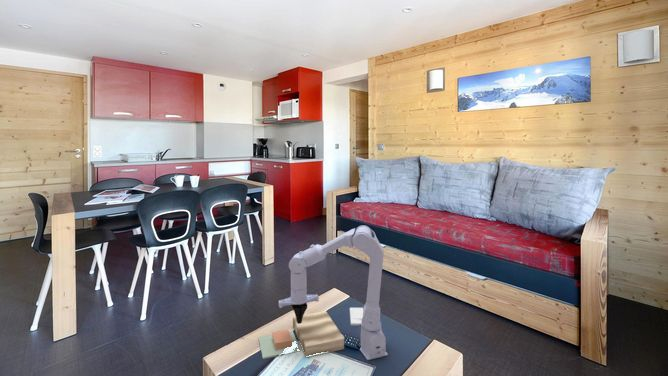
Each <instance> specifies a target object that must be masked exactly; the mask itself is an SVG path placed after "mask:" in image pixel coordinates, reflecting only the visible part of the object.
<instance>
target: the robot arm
mask: <svg viewBox="0 0 668 376" xmlns="http://www.w3.org/2000/svg"><path fill="white" fill-rule="evenodd" d="M343 247H348V248H350V249H353V247H354V248H355V249H357V250H359V251H360V252H362V253H365V254H366V255H367V256H368V258H369V267H368V278H367V288H366V289H367V291H366V301H365V303H364V305H363V307H362V308H363V318H362V322H361V325H360V342H361V348H360V349H359V350H360V352H361V353H362V355H363V356H364V357H365V360H367V361H370V360H374V359H377V358H382V357H386V356H389V355H388V354H389V353H388V351H387V350H386V349H387V348H386V347H387V346H386V345H387V343H386V342H387V339H386V336H385V334H384V332H383V330H382V322H381V306H380V298H381V297H380V296H381V295H380V294H381V286H382V275H383V273H382V272H383V264H384V248H383V247H382V245H381V243H380V241H379V239H378V238H377V236H376V233H375V231H374V230H372V229H371V228H370V227H369V226H368V225H365V224H364V225H359V226H358V227H356V228H355V227H354V228H352V229H350V230H348V231H346V232H344V233H342V234H341V235H339V236H336V237H335V238H333V239H331V240H330V241H328V242H326V243H325V244H323V245H321V244H318V243H317V244H311V245H310V246H309V248H307V249H305V250H301V251H299V252H298V253H296V254H294V255H293V257H292V258H291V259H289V262H288V269H289V270H290V297H287V298H286V297H285V298H284V299H280V300H278V307H279V308H280V309H282V308H283V307H288V306H291V307H292V309H293V312H294V315H295V316H296V320H297V323H298V324H300V323H302V318H303V315H305V313H306V311H307V309H308V303H311V302H315V303H316V302H319V300H320V298H319V295H318V294H317V293H316V294H308V293H307V291H308V289H307V288H308V287H307V284H308V283H307V280H308V279H307V277H308V275H307V268H309V267H311V266H314V264H317V263H319V262H321V261H323V260H325V259H326V255H327V254H329V253H331V252H334V251H336V250H338V249H341V248H343Z"/></svg>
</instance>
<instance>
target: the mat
mask: <svg viewBox="0 0 668 376" xmlns="http://www.w3.org/2000/svg"><path fill="white" fill-rule="evenodd" d="M289 333H290V335H291V338H292V342H294V341H296V342H297V343H298V341H297V340H298V339H297V338H296V334H295V333H294V331H293V330H289ZM258 342H259V349H260V352H261V358H262V360H267V359H271V358H272V359H273V358H275V357H276V358H277V357H278V356H277V355H279V354H281V353H283V351H284V349H285V348H283V349H279V350H275V346H274V343H273V339H272V334H269V335H264V336H259V337H258ZM297 343H296V344H297ZM298 347H299V348H297V347H296V348H295V350H294V349H293V350H294V351H297V349H299V350H300V351H301V348H300V347H301V346H298Z"/></svg>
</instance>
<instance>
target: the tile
mask: <svg viewBox="0 0 668 376" xmlns="http://www.w3.org/2000/svg"><path fill="white" fill-rule="evenodd" d="M289 331H290V330H289V329H283V330H277V331H274V332H273V331H272V333H271V335H272V339H273V343H274V346H275V350H279V349H283V348H287V347H291V346H292V338H291V335H290V333H289Z"/></svg>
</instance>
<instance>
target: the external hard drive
mask: <svg viewBox="0 0 668 376" xmlns="http://www.w3.org/2000/svg"><path fill="white" fill-rule="evenodd" d="M362 318H363V307H349V319H350V326H352V327H353V326H355V327H356V326H358V327H359V326H361V322H362Z"/></svg>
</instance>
